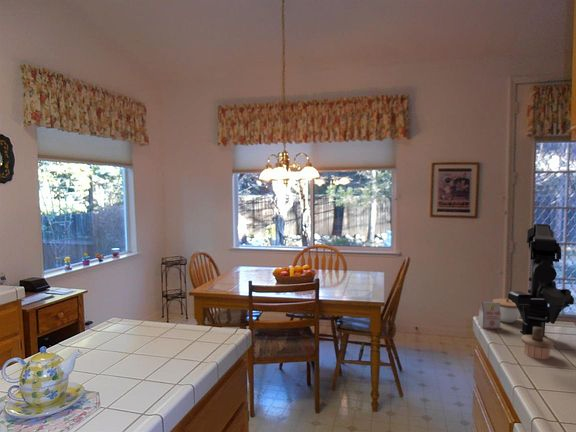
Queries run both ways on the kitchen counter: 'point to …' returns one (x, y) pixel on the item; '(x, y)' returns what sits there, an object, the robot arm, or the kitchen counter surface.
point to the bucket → (536, 352)
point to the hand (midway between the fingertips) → (538, 323)
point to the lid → (537, 339)
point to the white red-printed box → (489, 315)
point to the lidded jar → (508, 310)
